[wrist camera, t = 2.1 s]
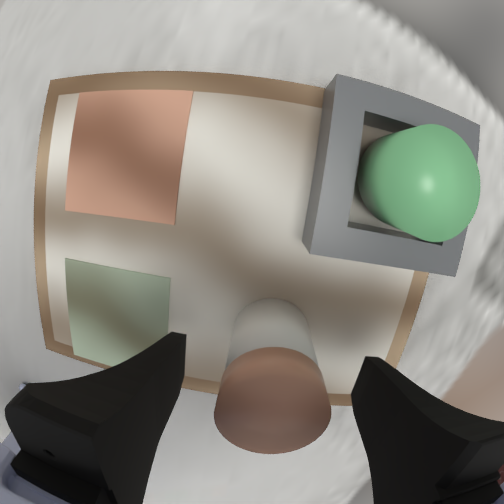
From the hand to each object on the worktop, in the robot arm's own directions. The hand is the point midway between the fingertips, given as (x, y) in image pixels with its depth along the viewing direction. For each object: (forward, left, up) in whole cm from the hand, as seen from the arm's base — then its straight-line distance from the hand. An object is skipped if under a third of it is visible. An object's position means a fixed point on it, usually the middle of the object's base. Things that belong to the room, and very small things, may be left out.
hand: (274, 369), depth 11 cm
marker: (0, 0, -3) cm, 3 cm away
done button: (+8, -4, -2) cm, 9 cm away
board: (+3, +3, -4) cm, 6 cm away
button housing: (+8, -4, -4) cm, 10 cm away
